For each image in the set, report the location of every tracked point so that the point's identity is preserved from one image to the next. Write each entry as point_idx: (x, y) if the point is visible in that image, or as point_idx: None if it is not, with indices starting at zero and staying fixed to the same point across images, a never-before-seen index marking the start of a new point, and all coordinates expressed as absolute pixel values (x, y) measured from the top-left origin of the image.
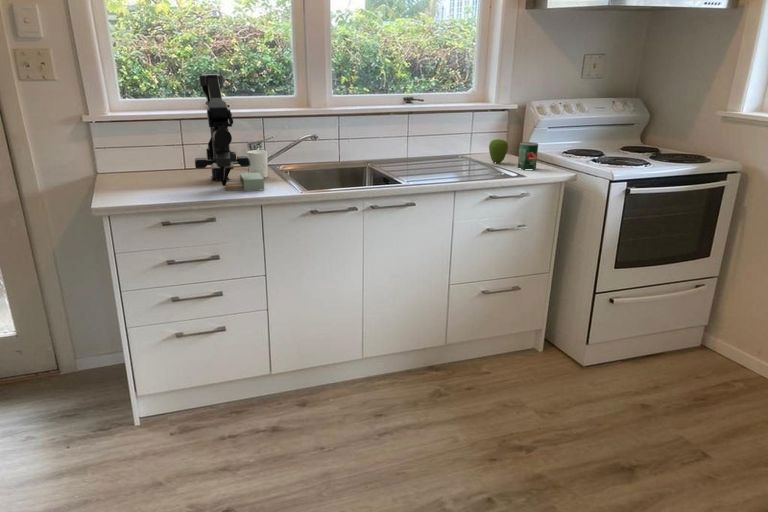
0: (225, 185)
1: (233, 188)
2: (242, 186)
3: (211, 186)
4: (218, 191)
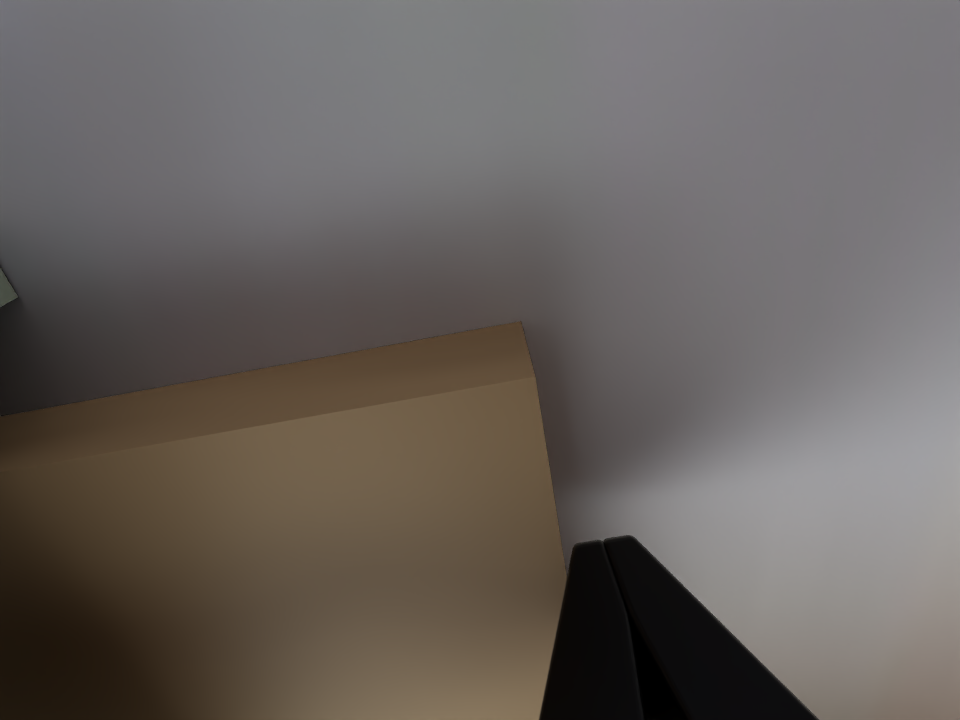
0: None
1: (331, 376)
2: (54, 448)
3: (829, 670)
4: (747, 235)
